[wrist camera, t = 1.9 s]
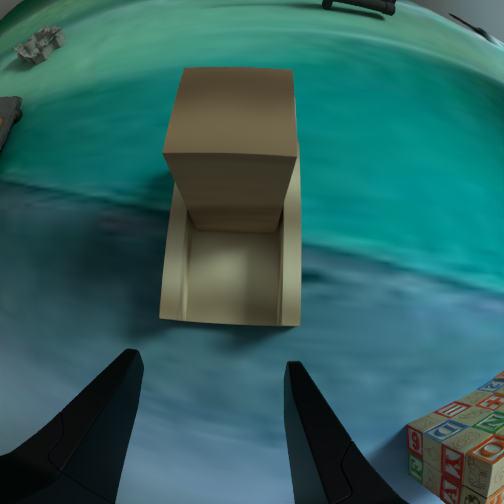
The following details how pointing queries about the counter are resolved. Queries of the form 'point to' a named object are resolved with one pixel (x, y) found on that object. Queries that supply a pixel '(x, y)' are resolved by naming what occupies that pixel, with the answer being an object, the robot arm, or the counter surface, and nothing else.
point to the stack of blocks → (462, 448)
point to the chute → (234, 269)
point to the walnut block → (233, 146)
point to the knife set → (367, 5)
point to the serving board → (8, 115)
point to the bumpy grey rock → (41, 44)
